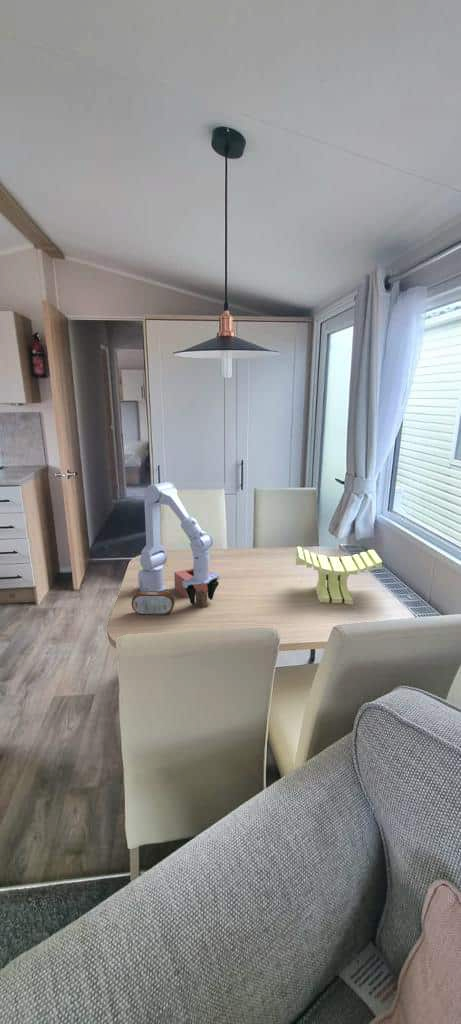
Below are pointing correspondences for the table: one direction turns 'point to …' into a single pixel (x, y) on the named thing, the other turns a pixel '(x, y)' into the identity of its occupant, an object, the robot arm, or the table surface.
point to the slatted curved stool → (336, 572)
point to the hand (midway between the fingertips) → (201, 601)
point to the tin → (153, 602)
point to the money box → (186, 575)
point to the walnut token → (201, 598)
